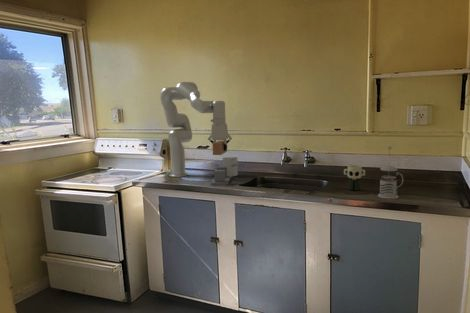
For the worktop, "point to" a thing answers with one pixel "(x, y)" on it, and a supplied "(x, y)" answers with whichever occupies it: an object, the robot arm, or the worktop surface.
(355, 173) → the big eared toy figure
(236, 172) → the supplement box
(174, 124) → the robot arm
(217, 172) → the display stand
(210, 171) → the worktop surface
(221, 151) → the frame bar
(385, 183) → the french press
